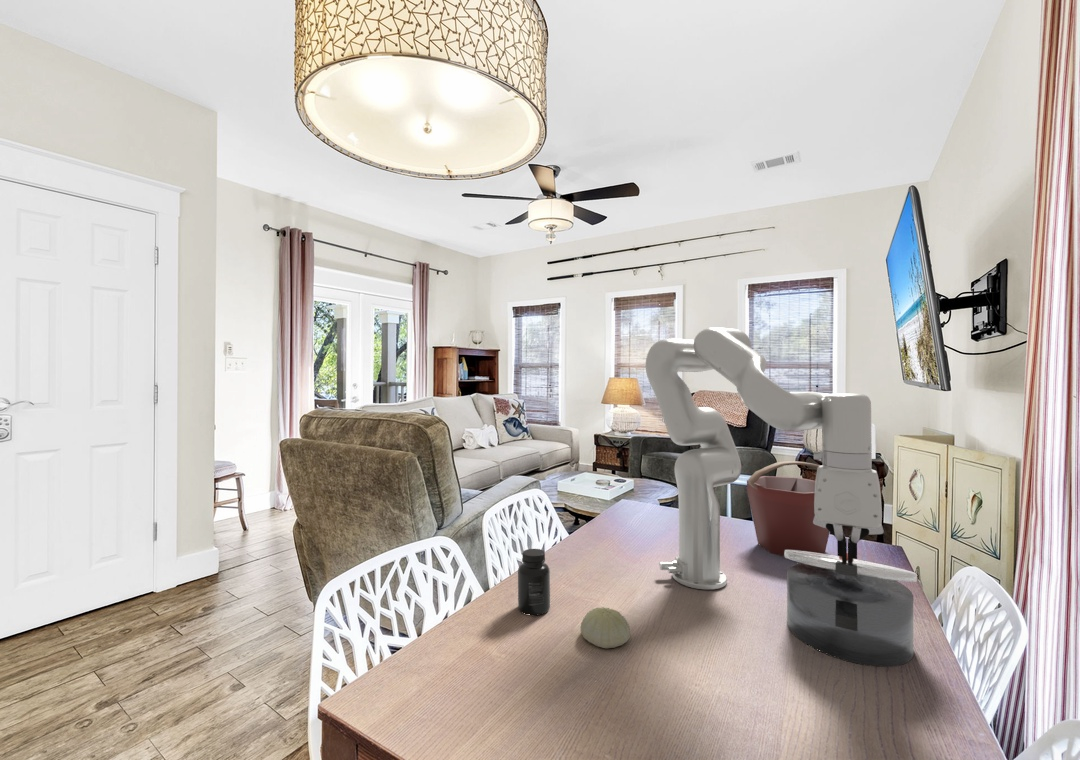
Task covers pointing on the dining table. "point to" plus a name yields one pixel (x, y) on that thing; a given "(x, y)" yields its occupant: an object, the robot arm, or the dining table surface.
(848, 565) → the cooker lid
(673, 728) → the dining table surface
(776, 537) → the bucket
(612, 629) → the sea urchin shell
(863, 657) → the cooker pot
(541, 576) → the supplement bottle
